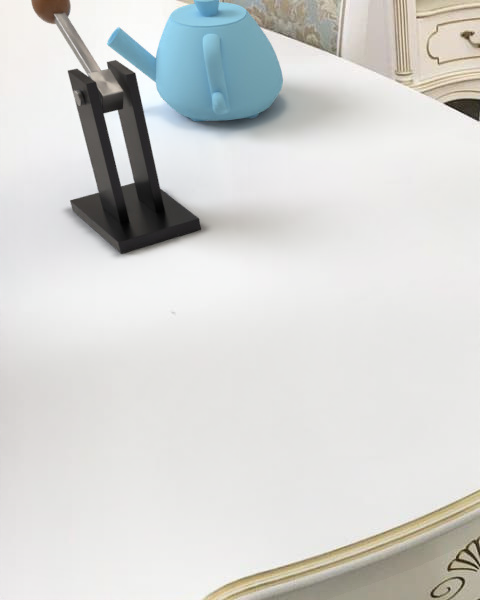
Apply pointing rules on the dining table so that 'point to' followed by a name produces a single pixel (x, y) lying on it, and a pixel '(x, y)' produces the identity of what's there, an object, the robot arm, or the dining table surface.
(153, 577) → the dining table surface
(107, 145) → the bracket
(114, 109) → the lever
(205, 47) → the teapot
